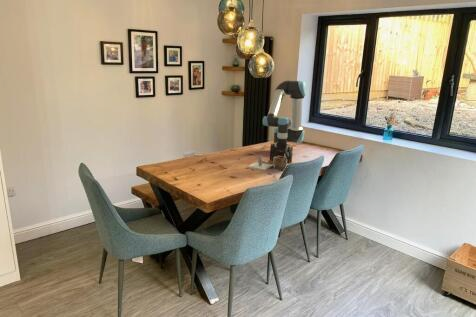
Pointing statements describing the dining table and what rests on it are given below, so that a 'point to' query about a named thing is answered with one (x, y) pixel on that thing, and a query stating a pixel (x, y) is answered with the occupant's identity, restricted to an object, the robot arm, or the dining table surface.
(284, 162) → the brown block
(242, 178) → the dining table surface
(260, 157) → the white post holder
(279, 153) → the supplement box
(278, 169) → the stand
